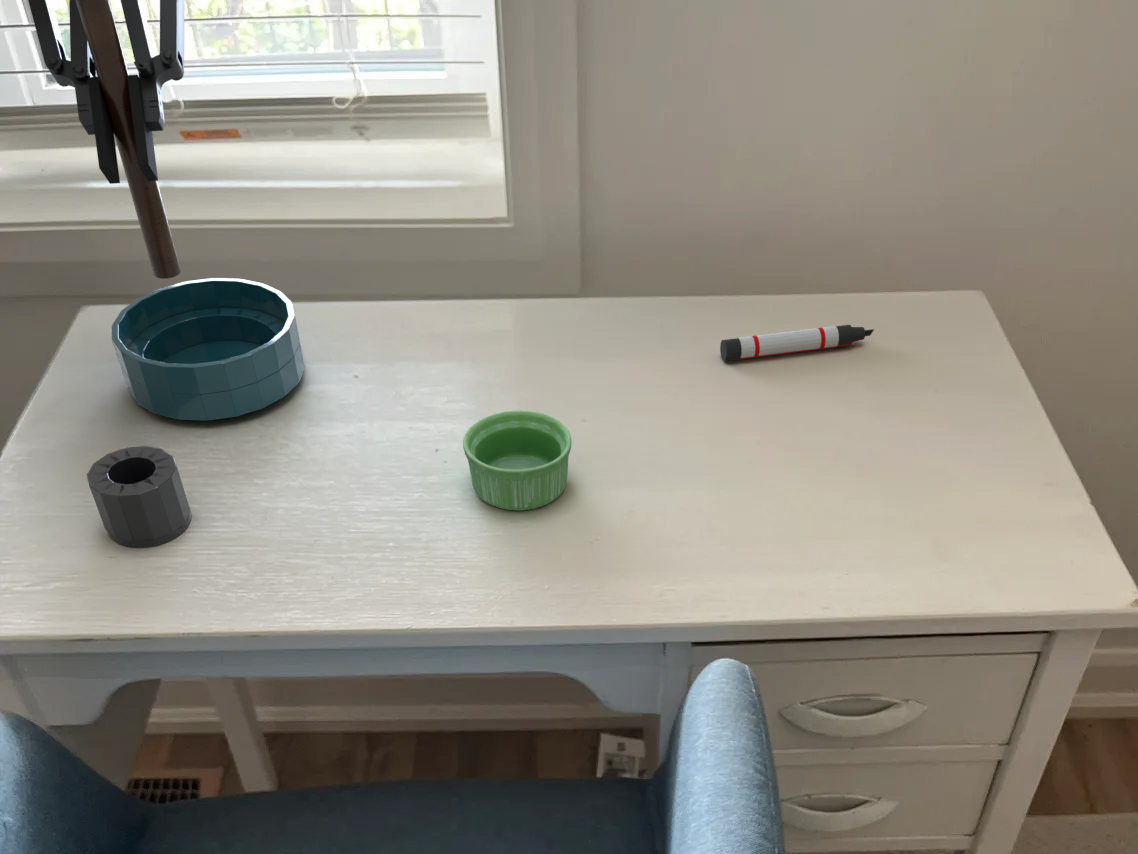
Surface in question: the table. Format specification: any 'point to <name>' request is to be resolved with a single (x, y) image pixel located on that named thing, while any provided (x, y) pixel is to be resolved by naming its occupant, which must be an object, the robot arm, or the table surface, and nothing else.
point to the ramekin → (518, 459)
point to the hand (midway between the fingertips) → (129, 173)
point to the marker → (791, 342)
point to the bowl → (209, 348)
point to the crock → (139, 496)
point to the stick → (127, 133)
